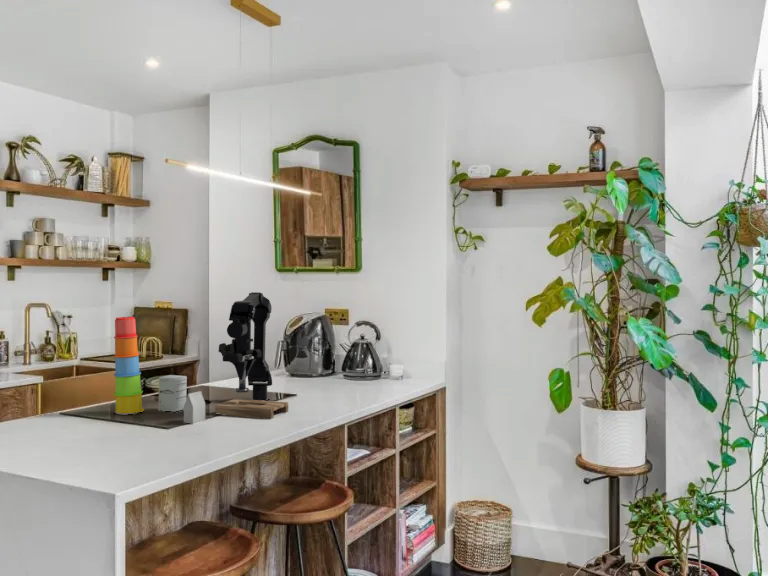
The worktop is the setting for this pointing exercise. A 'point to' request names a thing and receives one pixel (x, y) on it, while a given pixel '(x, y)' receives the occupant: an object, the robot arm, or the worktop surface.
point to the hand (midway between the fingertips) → (242, 379)
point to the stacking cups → (127, 367)
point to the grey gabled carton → (194, 408)
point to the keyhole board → (251, 408)
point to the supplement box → (172, 392)
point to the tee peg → (242, 384)
